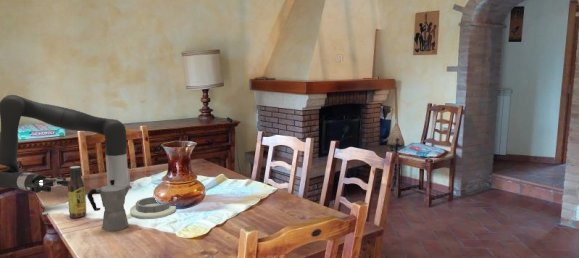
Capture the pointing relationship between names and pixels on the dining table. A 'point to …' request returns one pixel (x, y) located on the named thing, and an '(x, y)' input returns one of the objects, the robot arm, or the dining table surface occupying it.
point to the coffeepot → (112, 205)
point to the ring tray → (151, 215)
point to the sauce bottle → (76, 193)
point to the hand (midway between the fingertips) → (59, 186)
